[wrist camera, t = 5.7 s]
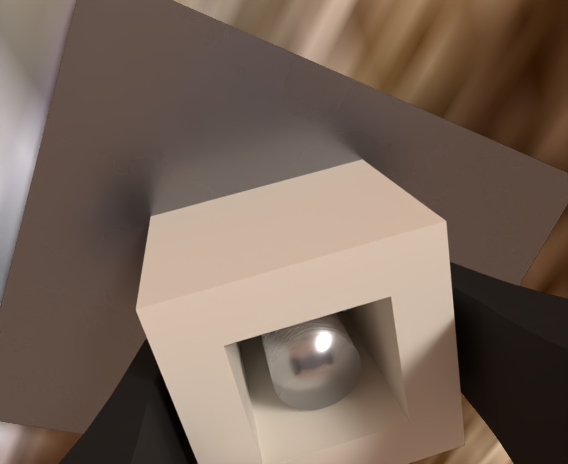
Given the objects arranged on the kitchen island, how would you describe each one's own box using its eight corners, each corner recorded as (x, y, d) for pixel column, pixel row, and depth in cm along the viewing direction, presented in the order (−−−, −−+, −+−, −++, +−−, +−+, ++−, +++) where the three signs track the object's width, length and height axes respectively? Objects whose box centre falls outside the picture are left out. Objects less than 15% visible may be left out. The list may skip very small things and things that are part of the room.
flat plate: (558, 170, 15) (695, 222, 11) (390, 461, 19) (447, 581, 15) (93, -33, 11) (41, -67, 7) (-14, 392, 15) (-90, 536, 10)
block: (362, 159, 13) (446, 220, 9) (388, 332, 15) (465, 444, 11) (150, 216, 12) (135, 309, 8) (211, 386, 15) (222, 525, 11)
